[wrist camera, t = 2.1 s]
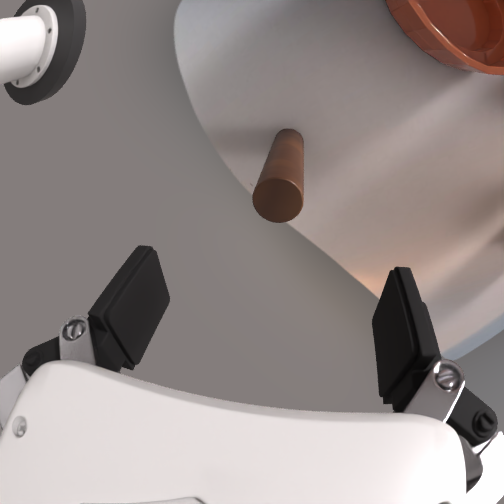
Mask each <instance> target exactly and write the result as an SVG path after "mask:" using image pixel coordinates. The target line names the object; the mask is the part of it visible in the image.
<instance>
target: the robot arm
mask: <svg viewBox="0 0 504 504" xmlns="http://www.w3.org/2000/svg"><path fill="white" fill-rule="evenodd" d="M57 37H58V22H57V17H56V14H55V12H54V11H53V9H52V8H50V7H49V6H46V5H37V6H33V7H31V8H29V9H28V10H27V11H25V12H24V13H23V14H22V15H21V16H20V17H12V18H4V19H0V85H2V84H5V83H8V82H11V83H12V84H13V85H14V86H16V87H18V88H25V87H28V86H31V85H33V84H34V83H36V82H37V81H38V80H39V79H40V78H41V77H42V76H43V74H44V73H45V71H46V70H47V68H48V66H49V64H50V62H51V60H52V57H53V54H54V51H55V48H56V44H57ZM169 302H170V296H169V292H168V289H167V286H166V283H165V279H164V276H163V273H162V269H161V266H160V262H159V259H158V255H157V252H156V251H155V250H154V249H153V248H152V247H151V246H141V245H140V246H138V247H137V248H136V249H135V250H134V251H133V253H132V254H131V255H130V256H129V258H128V259H127V260H126V262H125V263H124V264H123V265H122V267H121V268H120V269H119V271H118V272H117V273H116V275H115V276H114V277H113V279H112V280H111V282H110V283H109V284H108V285H107V287H106V288H105V290H104V291H103V292H102V294H101V295H100V297H99V298H98V299H97V301H96V302H95V304H94V305H93V306H92V308H91V309H90V311H89V312H88V315H89V317H88V318H87V319H86V318H85V317H83V316H74V317H71V318H69V319H68V320H66V321H65V322H64V323H63V325H62V326H61V328H60V331H59V336H58V337H56V338H54V339H51V340H49V341H47V342H45V343H42V344H40V345H38V346H35V347H33V348H31V349H30V350H29V351H28V352H27V353H26V354H25V356H24V358H23V361H22V366H21V365H20V364H18V365H17V366H16V367H14V368H13V369H12V370H11V371H10V372H8V373H7V374H6V375H5V376H4V377H2V378H1V379H0V425H1V428H2V433H1V436H0V504H495V503H496V502H497V501H498V500H499V499H500V498H501V497H502V496H503V494H504V436H503V435H502V433H501V432H499V433H498V432H497V431H496V430H497V424H498V422H497V417H496V414H495V412H494V411H493V410H492V409H491V408H490V407H489V406H487V405H486V404H485V403H484V402H483V401H481V400H480V399H479V398H478V397H476V396H475V395H474V394H473V393H472V392H471V391H469V390H468V389H467V388H466V387H464V382H465V379H464V373H463V371H462V369H461V367H460V366H459V365H458V364H457V363H455V362H454V361H452V360H448V359H443V360H442V359H441V355H440V351H439V347H438V343H437V340H436V336H435V332H434V329H433V325H432V322H431V319H430V316H429V312H428V309H427V306H426V304H425V303H424V302H422V300H421V297H420V294H419V291H418V288H417V285H416V283H415V280H414V277H413V274H412V272H411V269H410V268H408V267H395V268H394V270H391V271H390V272H389V275H388V278H387V281H386V284H385V286H384V289H383V292H382V295H381V297H380V300H379V303H378V305H377V308H376V310H375V313H374V316H373V319H372V327H373V335H374V343H375V351H376V361H377V372H378V386H379V395H380V397H383V404H392V405H393V410H394V412H393V413H346V412H320V411H304V410H292V409H282V408H273V407H265V406H257V405H250V404H243V403H238V402H232V401H226V400H220V399H215V398H210V397H205V396H201V395H196V394H191V393H187V392H183V391H179V390H175V389H171V388H167V387H163V386H159V385H156V384H152V383H149V382H146V381H142V380H139V379H136V378H132V377H129V376H126V375H123V374H121V373H120V369H121V367H124V368H127V369H130V370H133V369H134V367H135V365H137V364H139V363H140V361H141V359H142V357H143V355H144V353H145V350H146V348H147V346H148V344H149V342H150V340H151V338H152V336H153V334H154V332H155V330H156V328H157V326H158V324H159V322H160V320H161V318H162V316H163V314H164V312H165V310H166V308H167V306H168V304H169Z"/></svg>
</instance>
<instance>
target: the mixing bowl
mask: <svg viewBox="0 0 504 504" xmlns="http://www.w3.org/2000/svg"><path fill="white" fill-rule="evenodd" d="M385 1H386V3H387V5H388V8H389V10H390V12H391V14H392V16H393V17H394V18H395V20H396V21H397V22H398V24H399V25H400V27H401V28H402V30H403V31H404V33H405V34H406V35H407V36H408V37H410V38H411V39H412V40H413V41H414V42H415V43H416V44H417V45H418V46H419V47H420V48H421V49H422V50H423V51H424V52H426V53H427V54H429V55H430V56H432V57H434V58H435V59H437V60H438V61H439V62H441V63H443V64H445V65H448V66H451V67H454V68H457V69H459V70H464V71H471V72H478V73H484V74H492V75H504V0H385Z"/></svg>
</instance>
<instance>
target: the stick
mask: <svg viewBox="0 0 504 504" xmlns="http://www.w3.org/2000/svg"><path fill="white" fill-rule="evenodd" d="M303 202H304V141H303V138H302V136H301V134H300V133H299V132H297V131H296V130H293V129H284V130H281V131H280V132H279V133H278V134H277V135H276V137H275V139H274V142H273V144H272V147H271V149H270V152H269V154H268V157H267V159H266V162H265V164H264V167H263V169H262V172H261V174H260V177H259V179H258V182H257V184H256V187H255V190H254V192H253V205H254V207H255V209H256V211H257V212H258V213H259V215H260V216H262V217H263V218H265V219H266V220H268V221H271V222H276V223H282V222H287V221H290V220H292V219H294V218H295V217H296V216H297V215H298V214H299V213H300V211H301V210H302V207H303Z"/></svg>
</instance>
